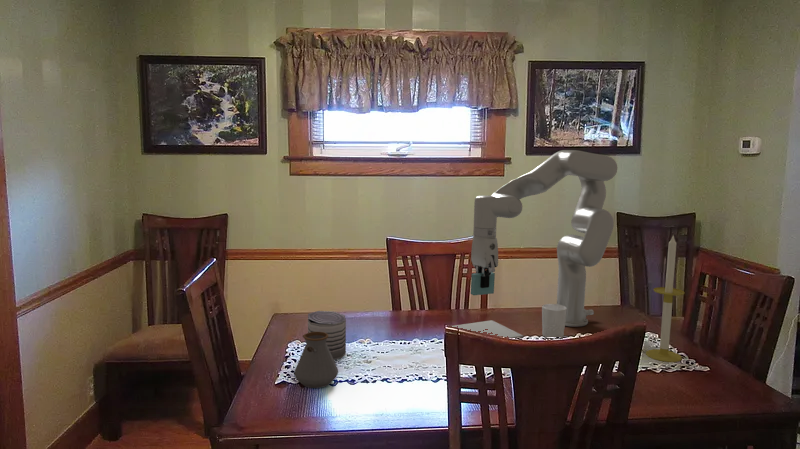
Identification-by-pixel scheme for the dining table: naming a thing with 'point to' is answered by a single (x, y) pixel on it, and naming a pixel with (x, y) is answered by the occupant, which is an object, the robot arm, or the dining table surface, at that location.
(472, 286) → the slab
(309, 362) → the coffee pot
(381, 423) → the dining table surface
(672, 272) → the candle
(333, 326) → the can
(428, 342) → the dining table surface
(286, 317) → the dining table surface
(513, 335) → the mat
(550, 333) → the white cup
